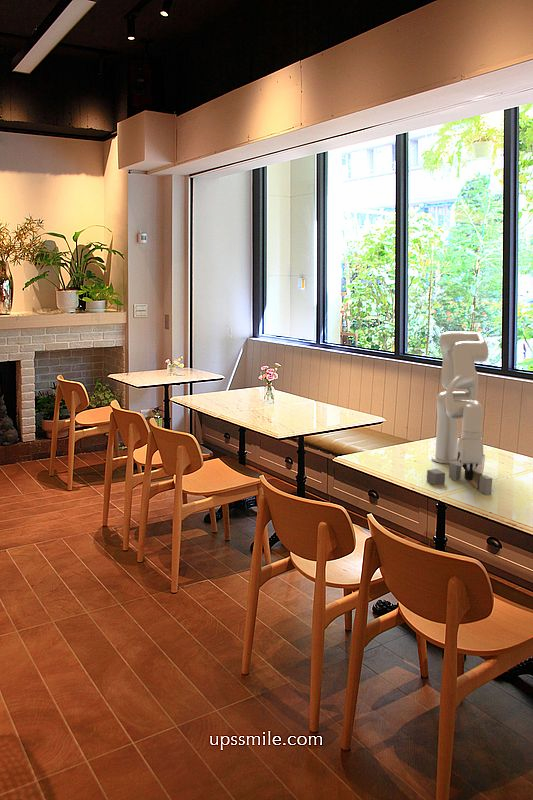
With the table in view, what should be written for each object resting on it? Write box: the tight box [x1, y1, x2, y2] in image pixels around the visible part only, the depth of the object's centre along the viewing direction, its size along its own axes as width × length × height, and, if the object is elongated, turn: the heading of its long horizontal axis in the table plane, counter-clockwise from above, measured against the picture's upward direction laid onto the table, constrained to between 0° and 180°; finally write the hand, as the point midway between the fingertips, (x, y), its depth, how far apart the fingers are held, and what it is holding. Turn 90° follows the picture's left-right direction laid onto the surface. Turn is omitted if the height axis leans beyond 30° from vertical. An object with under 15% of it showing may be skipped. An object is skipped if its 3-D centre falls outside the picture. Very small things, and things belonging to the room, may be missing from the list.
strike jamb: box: [448, 462, 462, 481], centre depth 311 cm, size 2×5×6 cm, turn 21°
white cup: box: [475, 453, 486, 475], centre depth 312 cm, size 8×8×10 cm
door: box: [464, 470, 482, 491], centre depth 302 cm, size 2×14×6 cm, turn 8°
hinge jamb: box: [478, 474, 493, 496], centre depth 293 cm, size 2×5×6 cm, turn 21°
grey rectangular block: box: [426, 468, 446, 486], centre depth 305 cm, size 4×6×5 cm
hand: (468, 479), depth 300 cm, fingers closed
